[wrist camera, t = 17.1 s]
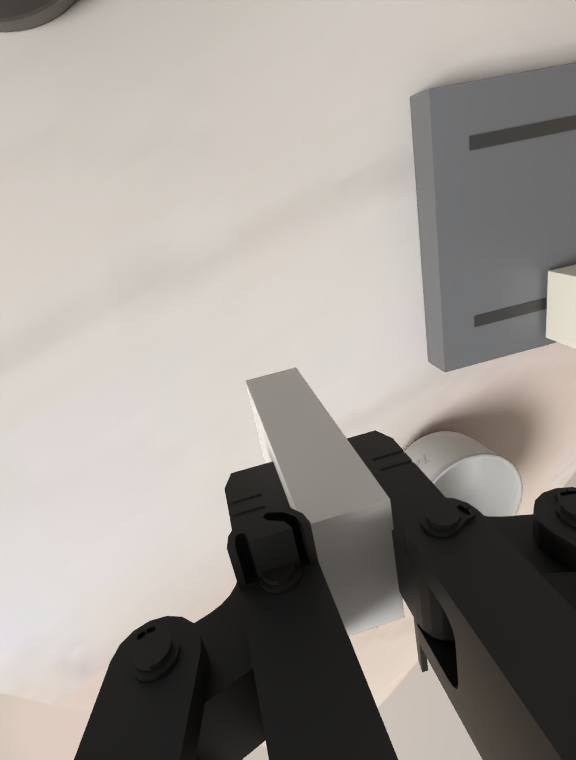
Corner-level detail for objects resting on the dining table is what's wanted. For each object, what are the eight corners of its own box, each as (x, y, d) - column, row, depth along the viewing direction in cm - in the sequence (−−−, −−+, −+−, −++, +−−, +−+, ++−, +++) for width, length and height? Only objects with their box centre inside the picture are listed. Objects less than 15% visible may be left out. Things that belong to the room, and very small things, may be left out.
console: (410, 97, 37) (429, 88, 34) (676, 48, 40) (715, 37, 37) (428, 361, 45) (445, 372, 42) (646, 304, 48) (675, 310, 46)
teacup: (382, 423, 47) (421, 465, 39) (482, 412, 49) (536, 450, 42) (374, 539, 52) (408, 596, 44) (465, 524, 54) (511, 576, 47)
